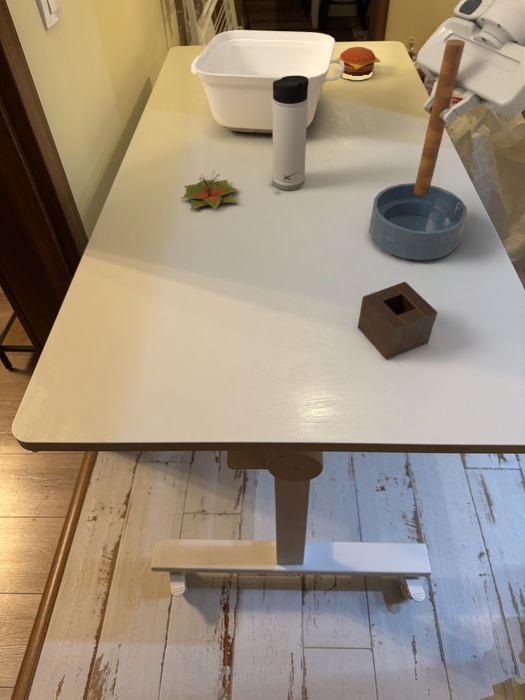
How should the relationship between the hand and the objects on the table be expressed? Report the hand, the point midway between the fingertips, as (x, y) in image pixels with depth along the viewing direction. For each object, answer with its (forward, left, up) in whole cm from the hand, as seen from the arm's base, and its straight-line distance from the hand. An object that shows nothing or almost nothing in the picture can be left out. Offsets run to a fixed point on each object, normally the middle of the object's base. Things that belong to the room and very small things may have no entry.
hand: (435, 116), depth 76 cm
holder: (+9, +23, -21) cm, 33 cm away
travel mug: (+18, -21, -21) cm, 35 cm away
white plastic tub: (+19, -51, -21) cm, 58 cm away
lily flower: (+34, -18, -21) cm, 44 cm away
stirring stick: (-1, 0, -12) cm, 12 cm away
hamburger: (-8, -75, -21) cm, 78 cm away
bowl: (-1, 0, -21) cm, 21 cm away
